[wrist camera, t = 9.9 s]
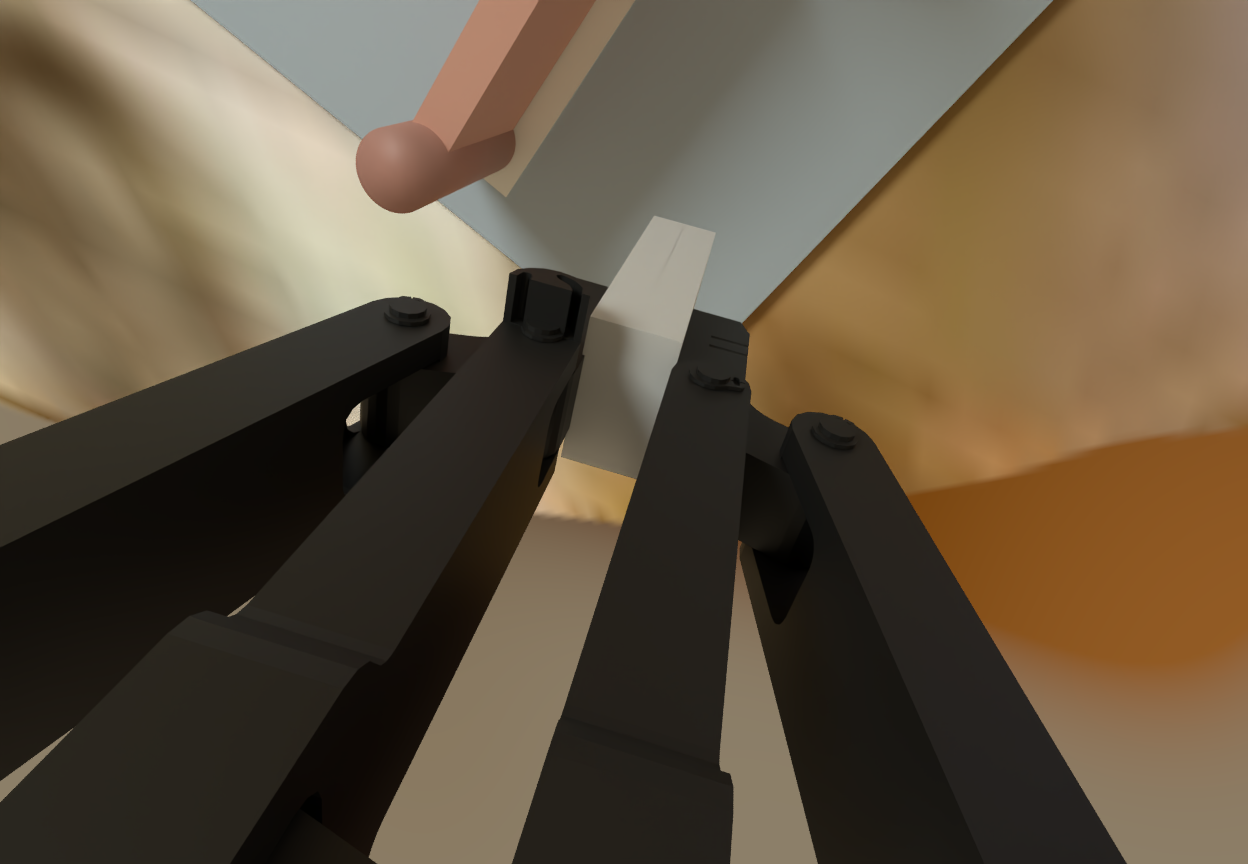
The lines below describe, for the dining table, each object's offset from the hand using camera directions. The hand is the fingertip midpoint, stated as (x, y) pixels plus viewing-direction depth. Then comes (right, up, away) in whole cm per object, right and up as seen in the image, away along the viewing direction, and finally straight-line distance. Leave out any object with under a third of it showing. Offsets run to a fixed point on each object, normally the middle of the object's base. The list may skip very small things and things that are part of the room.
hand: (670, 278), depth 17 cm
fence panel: (-2, +7, +1) cm, 8 cm away
